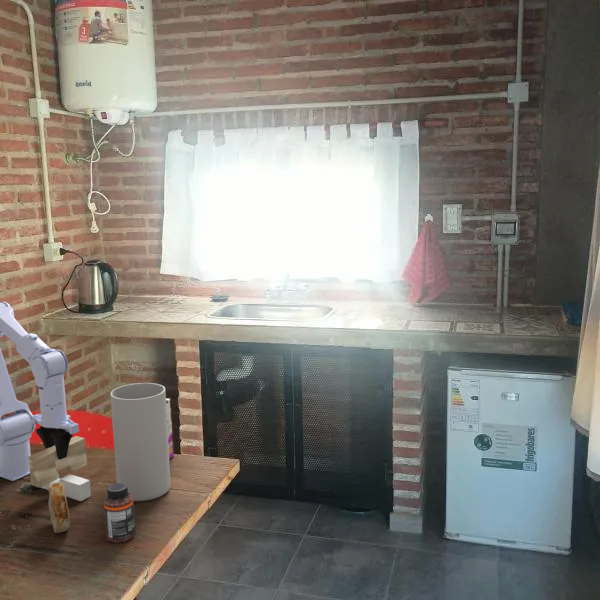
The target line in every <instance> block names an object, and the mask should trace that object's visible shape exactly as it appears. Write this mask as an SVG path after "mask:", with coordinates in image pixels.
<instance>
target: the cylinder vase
mask: <svg viewBox="0 0 600 600" xmlns="http://www.w3.org/2000/svg"><path fill="white" fill-rule="evenodd" d="M166 395H167V393H166V387H165V386H164V385H162V384H159V383H152V382H138V383H130V384H124V385H121V386H118V387H116V388H115V389H112V390H111V392H110V405H111V406H110V407H111V417H112V436H113V448H114V449H113V450H114V462H115V474H116V475H115V478H116V483H125V484H126V485H127V488H128V492H129V493H131V494H132V496H133V502H147V501H152V500H155V499H158V498H160V497H162V496H164V495H166V493H167V492H168V491H170V488H171V485H172V484H171V469H170V460H169V447H168V428H167V410H166V397H167V396H166Z"/></svg>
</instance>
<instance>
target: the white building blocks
mask: <svg viewBox="0 0 600 600" xmlns="http://www.w3.org/2000/svg"><path fill="white" fill-rule="evenodd" d="M59 471H60V470H58V471H56V474H57V479H56V480H54V481H52V482H50V483H48V484H46V485H44V486H42V487H40V488H41V489H43V490H47V491H49V490H48V485H50V484H52V483H56V482H62V483H64V486H65V492H66V498H70V499H73V500H76V501H79V502H82V501H84V500H87V499H88V498H89V497H91V496H92V492H91V482H90V480H89V479H88V478H83V477H81V476H78V475H74V474H71V473H69V474H67V475H65V476H63V477H60V472H59Z"/></svg>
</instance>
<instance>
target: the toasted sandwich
mask: <svg viewBox="0 0 600 600" xmlns="http://www.w3.org/2000/svg"><path fill="white" fill-rule="evenodd" d="M47 491H48V510H49V515H50V519H51V520H50V521H51V524H52V527H53V532H54V533H55V534H60V533H64V532H66V531H68V530H69V528H70V524H71V523H70V512H69V505H68V501H67V496H66V492H65V486H64V483H62V482H56V483H52V484H50V485H48V490H47Z"/></svg>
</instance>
